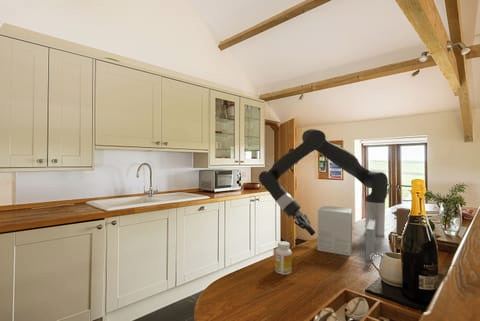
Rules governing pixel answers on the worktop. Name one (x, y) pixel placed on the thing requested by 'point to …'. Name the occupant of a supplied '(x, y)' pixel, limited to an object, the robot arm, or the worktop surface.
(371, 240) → the grey board
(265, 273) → the worktop surface
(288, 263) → the supplement bottle
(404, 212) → the wooden block
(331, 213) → the supplement box
